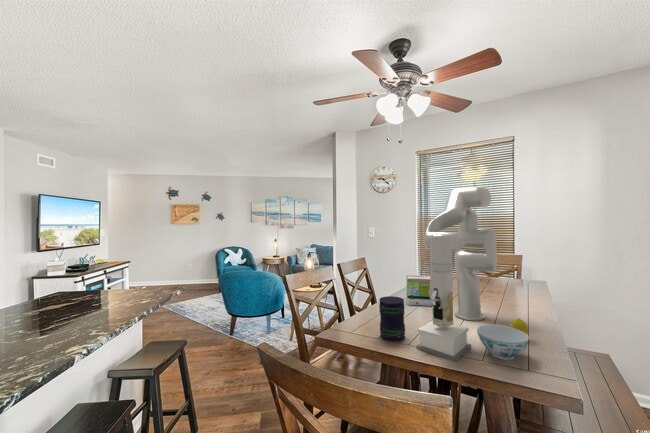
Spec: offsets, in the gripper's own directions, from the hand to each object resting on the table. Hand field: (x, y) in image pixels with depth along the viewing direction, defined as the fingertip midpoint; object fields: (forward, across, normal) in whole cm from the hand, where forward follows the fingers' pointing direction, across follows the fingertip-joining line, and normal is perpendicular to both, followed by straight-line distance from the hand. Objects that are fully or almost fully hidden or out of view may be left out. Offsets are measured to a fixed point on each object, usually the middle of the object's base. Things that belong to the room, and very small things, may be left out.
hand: (442, 315), depth 106 cm
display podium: (+12, 0, 0) cm, 12 cm away
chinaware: (+12, -7, +17) cm, 22 cm away
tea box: (+12, -45, -32) cm, 56 cm away
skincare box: (+3, 0, 0) cm, 3 cm away
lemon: (+12, -26, +18) cm, 34 cm away
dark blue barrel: (+12, +4, -19) cm, 23 cm away
